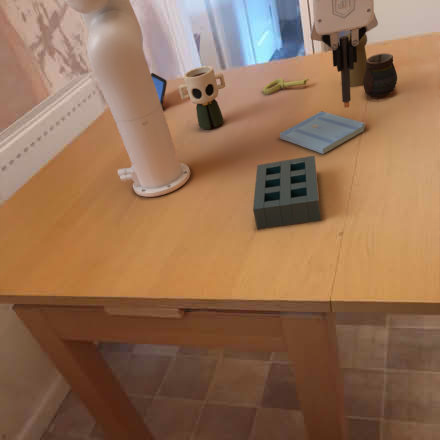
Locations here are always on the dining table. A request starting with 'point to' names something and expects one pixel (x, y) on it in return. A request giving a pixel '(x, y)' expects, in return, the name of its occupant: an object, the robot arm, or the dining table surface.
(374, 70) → the mate gourd
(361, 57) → the cork
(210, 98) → the character mug
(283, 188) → the pen stand
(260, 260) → the dining table surface
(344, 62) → the stylus
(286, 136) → the light blue flat board
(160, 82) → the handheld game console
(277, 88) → the key
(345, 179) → the dining table surface
